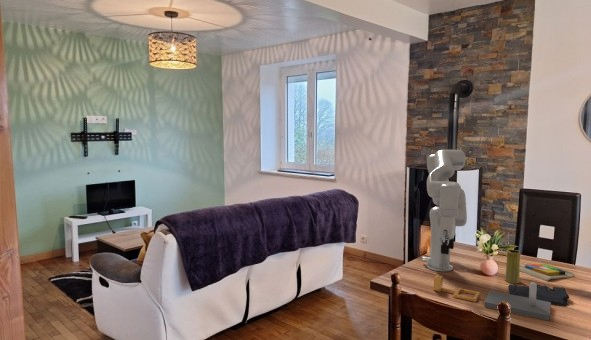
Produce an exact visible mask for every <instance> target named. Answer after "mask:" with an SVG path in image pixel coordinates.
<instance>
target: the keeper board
mask: <svg viewBox="0 0 591 340" xmlns="http://www.w3.org/2000/svg"><path fill="white" fill-rule="evenodd" d="M529 287H530V288H529V298H527V297H521V296H516V295H511V294H509V293H507V292H501V291H497V290H496V291H495V290H489V291H488V294H487V296H486V298H485V300H484V302H483V303H484V305H483V306H484V308H489V309H495V310H498V309H497V306H498V304H499V303H500V302H502V301H505V302H508V303H509V304H510V305H511V312H510V313H511V314H512V313H513V314H515V315H516V314H517V315H521V316H525V317H529V318H534V317H535V318H534V319H539V320H543V321H548V322H549V321H550V316H551V314H550V313H551V306H552V305H551V302H547V301H542V300H537V299H536V291H537V283H536V282H534V281H531V282H530V283H529Z"/></svg>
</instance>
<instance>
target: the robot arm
mask: <svg viewBox="0 0 591 340" xmlns="http://www.w3.org/2000/svg"><path fill="white" fill-rule="evenodd" d="M466 158H467V157H466V153H465V152H464V151H463V150H461V149H439V150H437V151H436V152H435V153H433V154H430V155H428V156H427V158H426V168H427V172H428V176H427V179H426V191H427V194H428V196H429V197H430V198H432V202H433V204H434V205H436V206H434V207H431V208H430V209H429V222H430V246H429V247H430V249H429V256H428V257H427V256H422V257H421V261H422V262H425V263H426V267H427V268H428V269H429V270H431V271H435V272H451V271H453V269H454V267H453V265H452V264H450V261H451V260H450V259H451V250H453V249H455V248H454V244H455V242H454V241H455V240H454V238H455V236H456V227H464V226H465V225H466V224H467V220H468V216H467V215H468V214H467V200H466V194H465V193H466V192H465V191H464V189H462V187H461V185H460V184H459V182H456V181H450V180H449V179H450V178H451V177H453V176H454V174H455V171H459V170H462V168H464V166H465V165H466V160H467V159H466Z"/></svg>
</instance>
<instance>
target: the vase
mask: <svg viewBox="0 0 591 340" xmlns="http://www.w3.org/2000/svg"><path fill="white" fill-rule="evenodd" d="M520 261H521V251H520V250H516V249H507V252H506V263H505V264H506V265H505V278H504V281H505V282H507V283H509V284H519V283H520V282H521V281H520V280H521V279H520V275H521V273H520V266H521V264H520V263H521V262H520Z"/></svg>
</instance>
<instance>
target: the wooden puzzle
mask: <svg viewBox="0 0 591 340" xmlns="http://www.w3.org/2000/svg"><path fill="white" fill-rule="evenodd" d="M520 272H521V273H523V274H526V275H529V276H530V277H534V278H537V279H539V280H542V281H545V282H549V281H550V280H555V279H556V280H559V279H567V278H568V279H569V278H573V277H574V276H575V273H574V272H572V271H569V270H566V269H563V268H560V267H557V266H554V265H550V264H547V263H536V264H525V265H520Z"/></svg>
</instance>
